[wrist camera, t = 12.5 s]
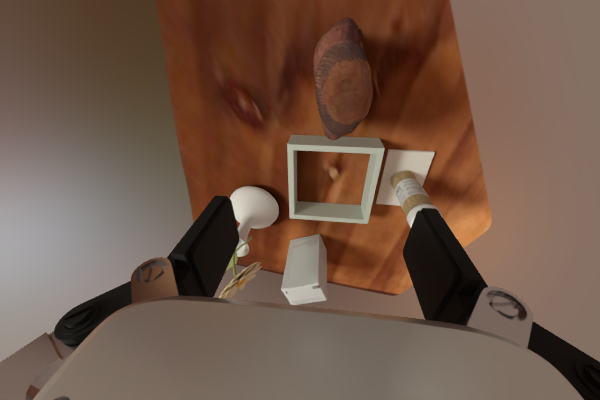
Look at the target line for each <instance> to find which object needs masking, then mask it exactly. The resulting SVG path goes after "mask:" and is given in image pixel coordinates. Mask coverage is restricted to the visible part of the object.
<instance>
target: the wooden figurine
mask: <svg viewBox="0 0 600 400" xmlns="http://www.w3.org/2000/svg"><path fill="white" fill-rule="evenodd" d="M362 36H363V34H362V31H361V30H360V29H359V28H358V25H356V23H355V22H354V21H353V20H352V19H350V18H345V19H343V20H341V21H339V22H337V23H336V24H334V25H333V26H332V28H331V29H330V30H329V31H327V32H326V33H325V34H324V35H323V36H322V37H321V38H320V40H319V42H318V43H317V46H316V48H315V52H314V58H313V60H314V79H315V89H316V96H317V104H318V107H319V108H318V110H319V114H320V117H321V122H322V127H323V129H324V133H325V135H326V137H327V138H329V139H330V140H337V139H339V138H340V137H341V136H342V135H344V134H345V135H346V134H348V133H351V132H353V131H354V130H355V129H356V127H357V126H358V125H359V123H360V122H361V121H362V120H363V119H364V117H365V116H366V115H367V114H368V112H369V108H370V106H371V102H372V98H373V87H372V80H371V69H370V65H369V63H368V62H367V58H366V55H365V51H364V49H363V44H362V41H361V39H362Z"/></svg>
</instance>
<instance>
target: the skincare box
mask: <svg viewBox="0 0 600 400" xmlns="http://www.w3.org/2000/svg"><path fill="white" fill-rule="evenodd" d="M281 290H282V291H283V293H284V294H285V296H286V297H287V299H288V300H289V302H290V304H291V305H298V304H304V303H311V302H317V301H325V300H327V250H326V247H325V245H324V243H323V240H322V238H321V236H320V234H316V235H312V236H307V237H303V238H298V239H294V240H291V241H290V246H289V251H288V256H287V262H286V267H285V272H284V277H283V282H282V287H281Z"/></svg>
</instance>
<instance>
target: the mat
mask: <svg viewBox="0 0 600 400" xmlns="http://www.w3.org/2000/svg"><path fill="white" fill-rule="evenodd" d="M434 153H435V152H434V151H420V150H396V149H388V152H387V156H386V161H385V165H384V169H383V173H382V178H381V182H380V186H379V190H378V195H377V199H376V204H384V205H399V206H401V205H400V202H399V200H398V198H397V196H396V193H395V190H394V188H393V187H392V185H391V180H392V177H393V176H394V175H395V174H396V173H398V172H400V171H404V170H406V171H411V172H412V173H413V174H414V175H415V177H416V179H417V181H418V182H419V183H420V184H421V186H423V184H424V181H425V178H426V175H427V173H428V170H429V167H430V164H431V161H432V159H433V156H434Z"/></svg>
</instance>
